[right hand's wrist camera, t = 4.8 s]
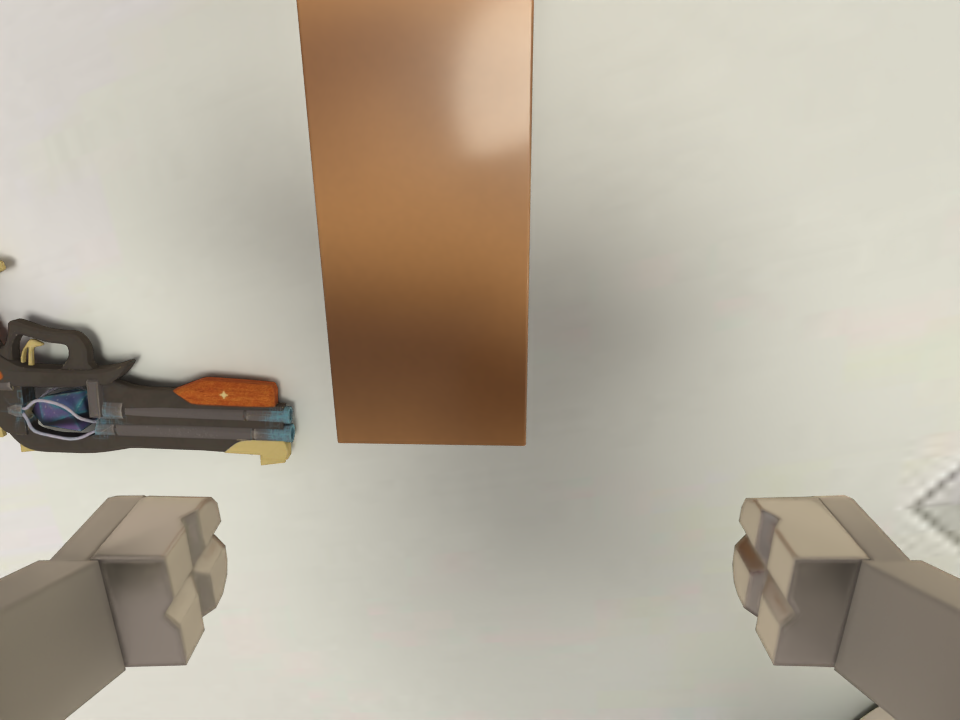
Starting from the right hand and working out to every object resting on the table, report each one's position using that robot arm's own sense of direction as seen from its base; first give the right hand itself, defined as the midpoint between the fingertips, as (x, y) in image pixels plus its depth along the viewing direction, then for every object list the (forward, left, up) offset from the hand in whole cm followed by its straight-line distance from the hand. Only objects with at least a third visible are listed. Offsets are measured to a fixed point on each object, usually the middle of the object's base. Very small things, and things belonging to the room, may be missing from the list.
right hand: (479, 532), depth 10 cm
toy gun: (-6, +20, -23) cm, 31 cm away
